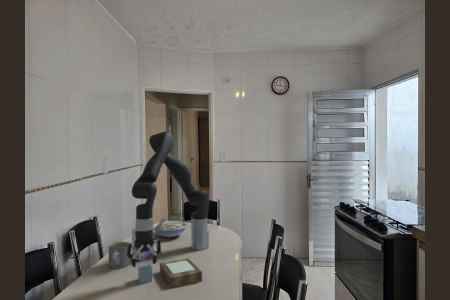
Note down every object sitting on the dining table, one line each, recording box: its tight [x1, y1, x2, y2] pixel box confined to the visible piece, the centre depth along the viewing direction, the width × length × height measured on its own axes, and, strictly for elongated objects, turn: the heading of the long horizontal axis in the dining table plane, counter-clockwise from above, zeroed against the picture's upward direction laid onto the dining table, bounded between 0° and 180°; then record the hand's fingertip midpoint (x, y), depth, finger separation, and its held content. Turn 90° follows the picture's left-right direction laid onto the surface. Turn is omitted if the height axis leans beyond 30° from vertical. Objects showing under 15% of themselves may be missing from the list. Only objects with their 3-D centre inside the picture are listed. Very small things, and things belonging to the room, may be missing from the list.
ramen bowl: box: [153, 218, 188, 239], centre depth 201 cm, size 25×23×8 cm
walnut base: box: [159, 258, 203, 288], centre depth 138 cm, size 14×18×4 cm
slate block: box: [137, 263, 153, 284], centre depth 134 cm, size 5×5×6 cm
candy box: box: [131, 228, 155, 262], centre depth 164 cm, size 14×6×16 cm, turn 168°
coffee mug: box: [108, 241, 131, 270], centre depth 150 cm, size 13×10×10 cm
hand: (144, 265), depth 134 cm, fingers open, 8 cm apart
